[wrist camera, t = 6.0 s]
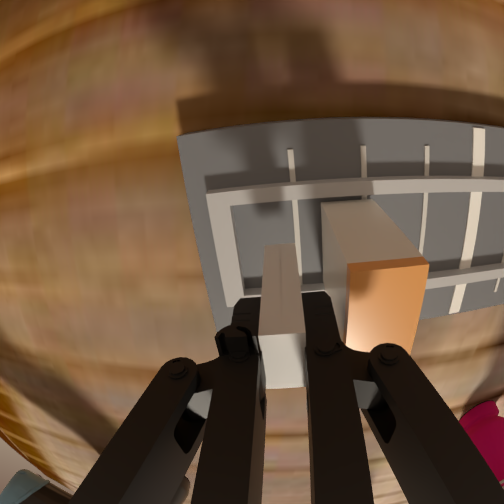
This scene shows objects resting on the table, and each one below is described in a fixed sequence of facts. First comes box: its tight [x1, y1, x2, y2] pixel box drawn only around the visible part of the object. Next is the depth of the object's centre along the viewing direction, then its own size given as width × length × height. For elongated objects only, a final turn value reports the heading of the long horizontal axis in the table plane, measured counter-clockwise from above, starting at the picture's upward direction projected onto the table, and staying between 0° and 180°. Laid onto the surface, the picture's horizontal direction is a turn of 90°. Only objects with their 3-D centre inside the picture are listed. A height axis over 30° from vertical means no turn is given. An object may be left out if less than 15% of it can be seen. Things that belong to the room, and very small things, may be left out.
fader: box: [321, 199, 429, 355], centre depth 14 cm, size 3×5×8 cm, turn 7°
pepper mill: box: [459, 401, 504, 489], centre depth 21 cm, size 7×7×20 cm
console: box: [177, 117, 504, 332], centre depth 18 cm, size 26×14×3 cm, turn 97°
